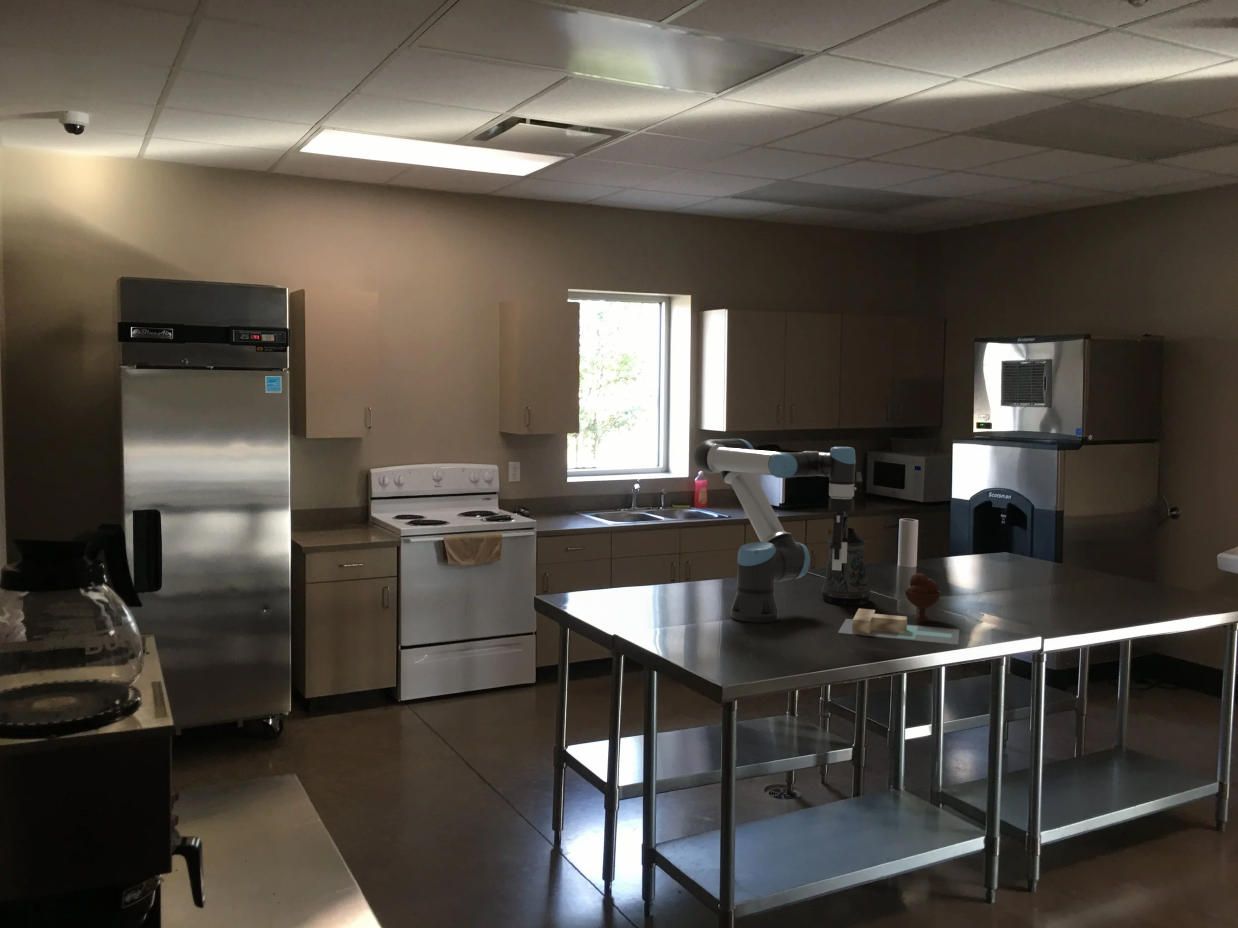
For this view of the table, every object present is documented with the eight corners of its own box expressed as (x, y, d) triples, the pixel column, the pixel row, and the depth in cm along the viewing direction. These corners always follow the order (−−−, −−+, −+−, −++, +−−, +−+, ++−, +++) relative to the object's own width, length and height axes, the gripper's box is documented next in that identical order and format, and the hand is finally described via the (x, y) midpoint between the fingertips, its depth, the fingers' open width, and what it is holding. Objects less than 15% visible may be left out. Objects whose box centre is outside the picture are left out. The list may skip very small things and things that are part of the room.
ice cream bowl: (916, 625, 310) (918, 577, 309) (897, 617, 321) (899, 571, 320) (946, 623, 313) (948, 576, 312) (926, 615, 324) (928, 569, 323)
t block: (852, 632, 298) (852, 619, 298) (858, 620, 313) (858, 608, 313) (904, 637, 293) (904, 624, 293) (908, 625, 308) (908, 612, 308)
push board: (837, 633, 298) (837, 632, 298) (845, 619, 316) (845, 618, 316) (958, 645, 286) (958, 644, 286) (959, 630, 304) (959, 629, 304)
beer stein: (866, 596, 352) (869, 525, 350) (874, 608, 333) (877, 534, 331) (818, 594, 354) (821, 524, 352) (824, 606, 335) (827, 532, 333)
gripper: (849, 502, 291) (847, 574, 293) (858, 494, 315) (856, 560, 317) (823, 501, 294) (821, 572, 296) (834, 493, 317) (832, 559, 319)
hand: (839, 566), depth 306 cm, fingers open, 13 cm apart
